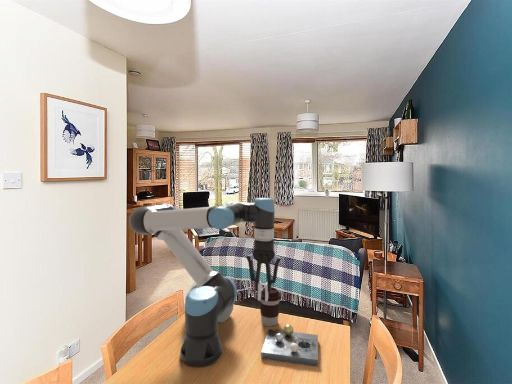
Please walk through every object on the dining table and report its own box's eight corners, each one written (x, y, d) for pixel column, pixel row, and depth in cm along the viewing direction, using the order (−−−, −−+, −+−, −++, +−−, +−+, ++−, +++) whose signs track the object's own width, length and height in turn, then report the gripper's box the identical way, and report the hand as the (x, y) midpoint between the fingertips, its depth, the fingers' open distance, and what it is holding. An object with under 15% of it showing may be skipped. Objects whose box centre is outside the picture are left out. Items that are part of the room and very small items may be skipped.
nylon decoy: (289, 353, 106) (289, 345, 105) (290, 348, 109) (290, 340, 108) (297, 354, 105) (298, 346, 105) (298, 349, 108) (298, 341, 108)
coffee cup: (279, 329, 126) (279, 295, 125) (256, 326, 128) (256, 293, 127) (281, 318, 136) (282, 286, 135) (260, 316, 138) (261, 284, 137)
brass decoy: (282, 336, 116) (282, 327, 116) (283, 331, 120) (284, 322, 120) (292, 338, 115) (293, 328, 115) (293, 332, 119) (293, 323, 119)
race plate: (261, 358, 106) (261, 352, 106) (268, 334, 122) (268, 329, 122) (317, 366, 102) (317, 359, 102) (317, 341, 118) (317, 335, 118)
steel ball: (274, 343, 112) (274, 335, 111) (275, 338, 115) (275, 330, 115) (282, 344, 111) (283, 336, 111) (283, 339, 114) (283, 331, 114)
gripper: (242, 240, 109) (241, 301, 111) (282, 242, 106) (281, 305, 108) (246, 235, 117) (246, 293, 118) (285, 237, 114) (283, 297, 115)
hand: (263, 299), depth 113 cm, fingers open, 2 cm apart
